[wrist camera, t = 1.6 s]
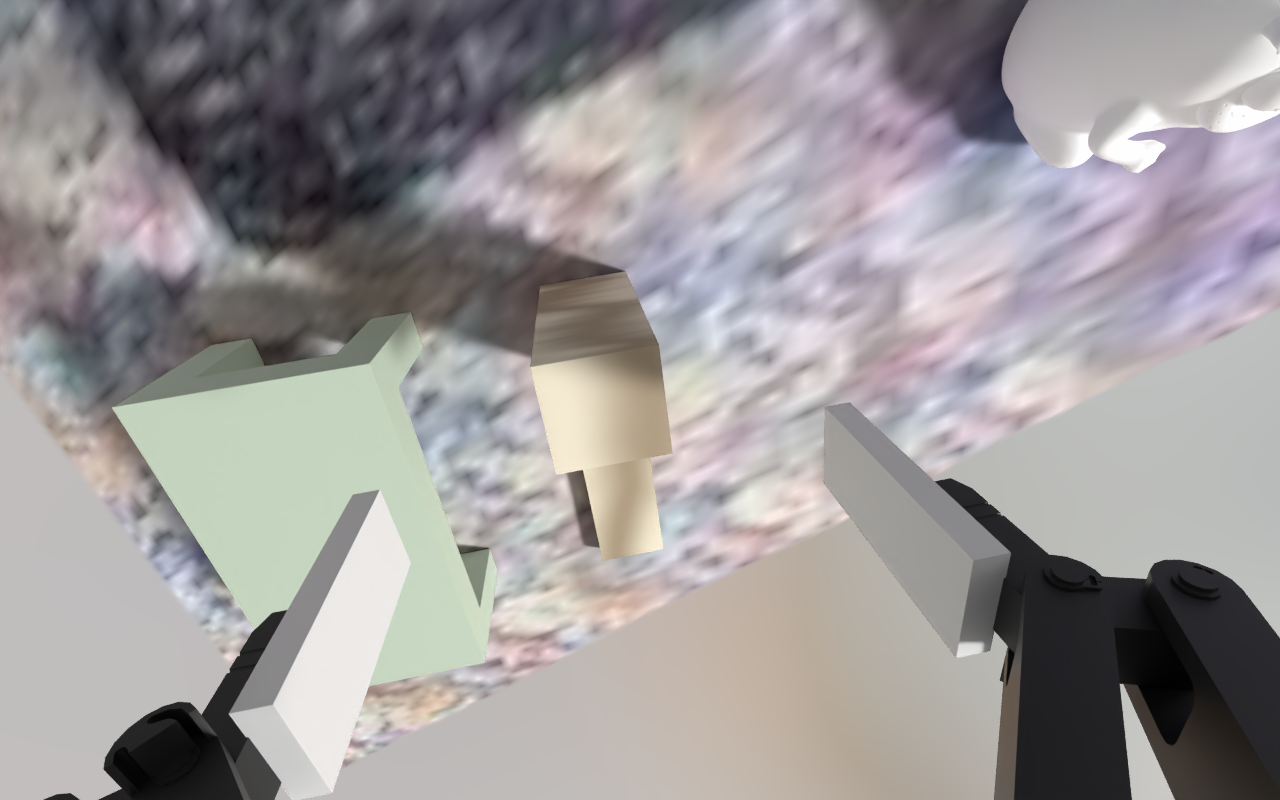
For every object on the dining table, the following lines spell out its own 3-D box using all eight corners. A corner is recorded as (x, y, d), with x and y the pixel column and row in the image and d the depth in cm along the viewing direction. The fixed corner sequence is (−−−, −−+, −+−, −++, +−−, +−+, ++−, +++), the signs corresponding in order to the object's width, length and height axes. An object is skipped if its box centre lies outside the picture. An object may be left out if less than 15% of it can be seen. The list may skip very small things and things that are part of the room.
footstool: (211, 345, 28) (111, 407, 22) (410, 311, 29) (369, 363, 22) (344, 601, 36) (299, 700, 30) (497, 571, 37) (484, 662, 30)
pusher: (597, 548, 37) (611, 701, 27) (540, 285, 29) (530, 367, 19) (664, 536, 37) (701, 682, 27) (625, 271, 29) (658, 344, 19)
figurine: (938, 6, 26) (1208, -79, 15) (1139, -153, 24) (1605, -378, 13) (1005, 188, 30) (1254, 223, 19) (1181, 63, 28) (1560, 25, 17)
